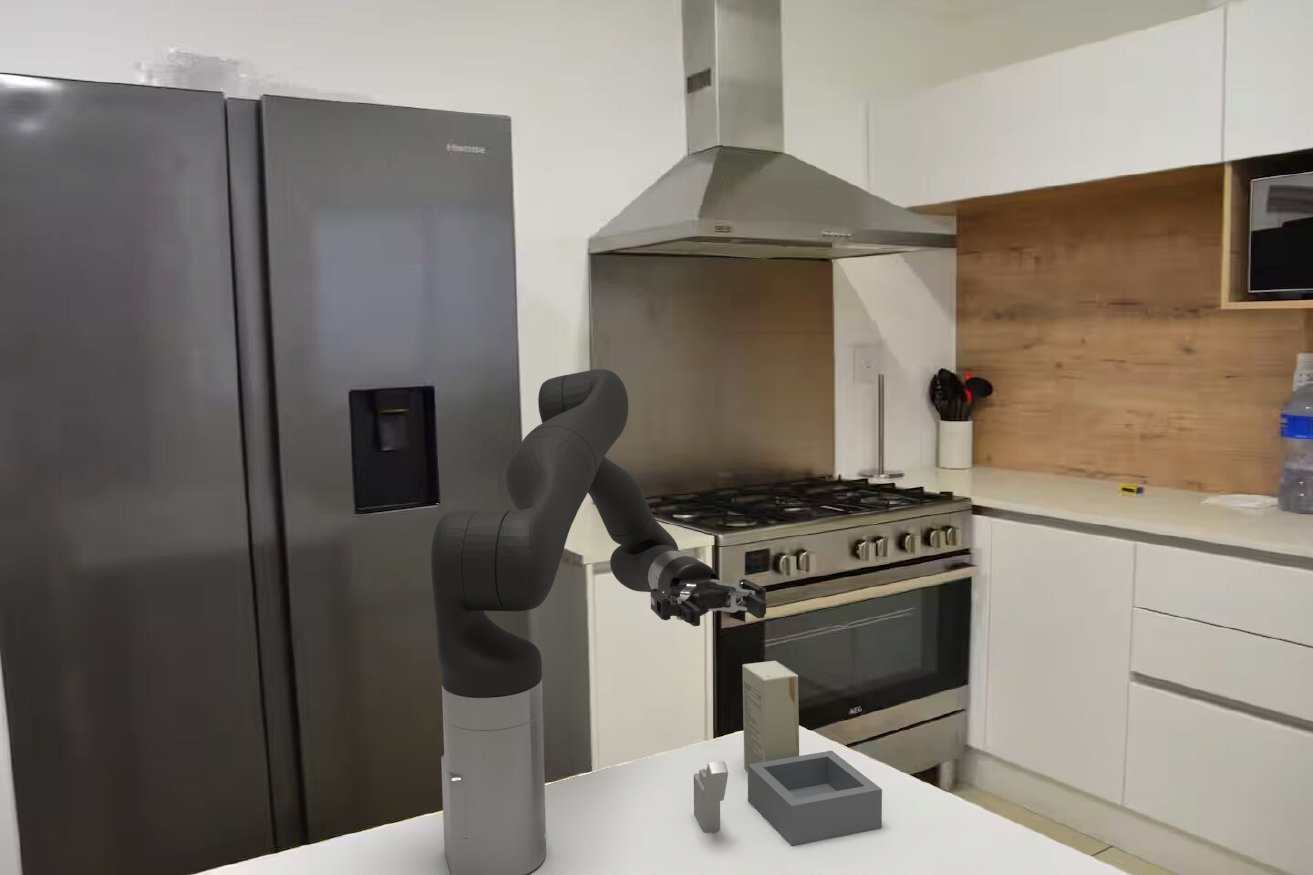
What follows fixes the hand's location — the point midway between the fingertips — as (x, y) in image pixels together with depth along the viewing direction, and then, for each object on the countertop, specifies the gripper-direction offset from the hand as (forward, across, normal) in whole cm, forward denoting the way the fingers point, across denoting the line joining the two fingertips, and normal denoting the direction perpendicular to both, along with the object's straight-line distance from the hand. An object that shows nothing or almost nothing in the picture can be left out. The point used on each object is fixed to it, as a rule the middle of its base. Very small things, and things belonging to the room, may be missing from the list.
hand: (730, 614), depth 120 cm
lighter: (+20, -11, +15) cm, 28 cm away
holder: (+21, 0, +15) cm, 26 cm away
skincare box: (+12, 0, +16) cm, 19 cm away
